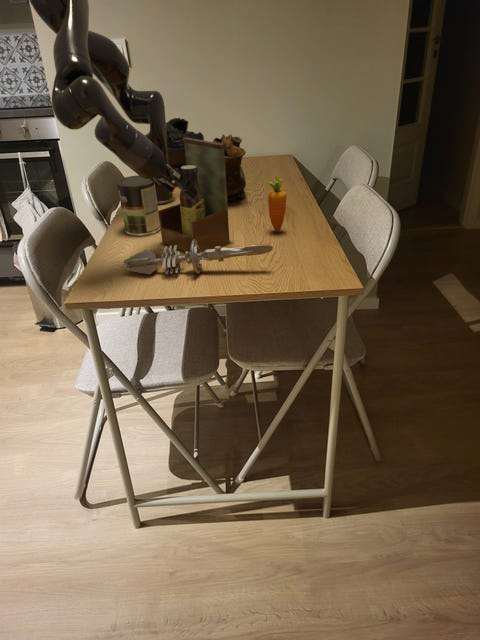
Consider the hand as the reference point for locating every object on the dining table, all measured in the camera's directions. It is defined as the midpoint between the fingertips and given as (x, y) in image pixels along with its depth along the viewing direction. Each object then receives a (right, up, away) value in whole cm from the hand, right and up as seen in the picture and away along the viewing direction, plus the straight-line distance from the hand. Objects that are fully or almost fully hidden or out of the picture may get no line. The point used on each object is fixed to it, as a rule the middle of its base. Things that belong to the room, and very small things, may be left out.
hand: (184, 192), depth 117 cm
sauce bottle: (+2, -11, +9) cm, 15 cm away
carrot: (+24, -8, +13) cm, 28 cm away
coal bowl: (-10, +30, +75) cm, 82 cm away
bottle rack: (+2, -11, +9) cm, 14 cm away
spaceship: (+4, -21, -6) cm, 22 cm away
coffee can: (-14, -6, +19) cm, 24 cm away
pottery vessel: (+11, +10, +42) cm, 44 cm away
